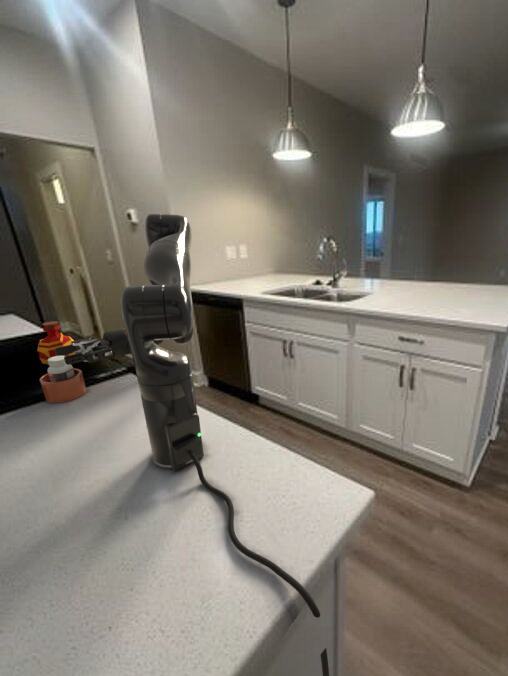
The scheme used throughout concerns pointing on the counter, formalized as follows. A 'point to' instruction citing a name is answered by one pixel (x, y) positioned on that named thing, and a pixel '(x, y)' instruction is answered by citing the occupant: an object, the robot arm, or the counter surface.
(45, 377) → the pot
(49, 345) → the potion bottle
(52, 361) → the pill bottle
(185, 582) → the counter surface
